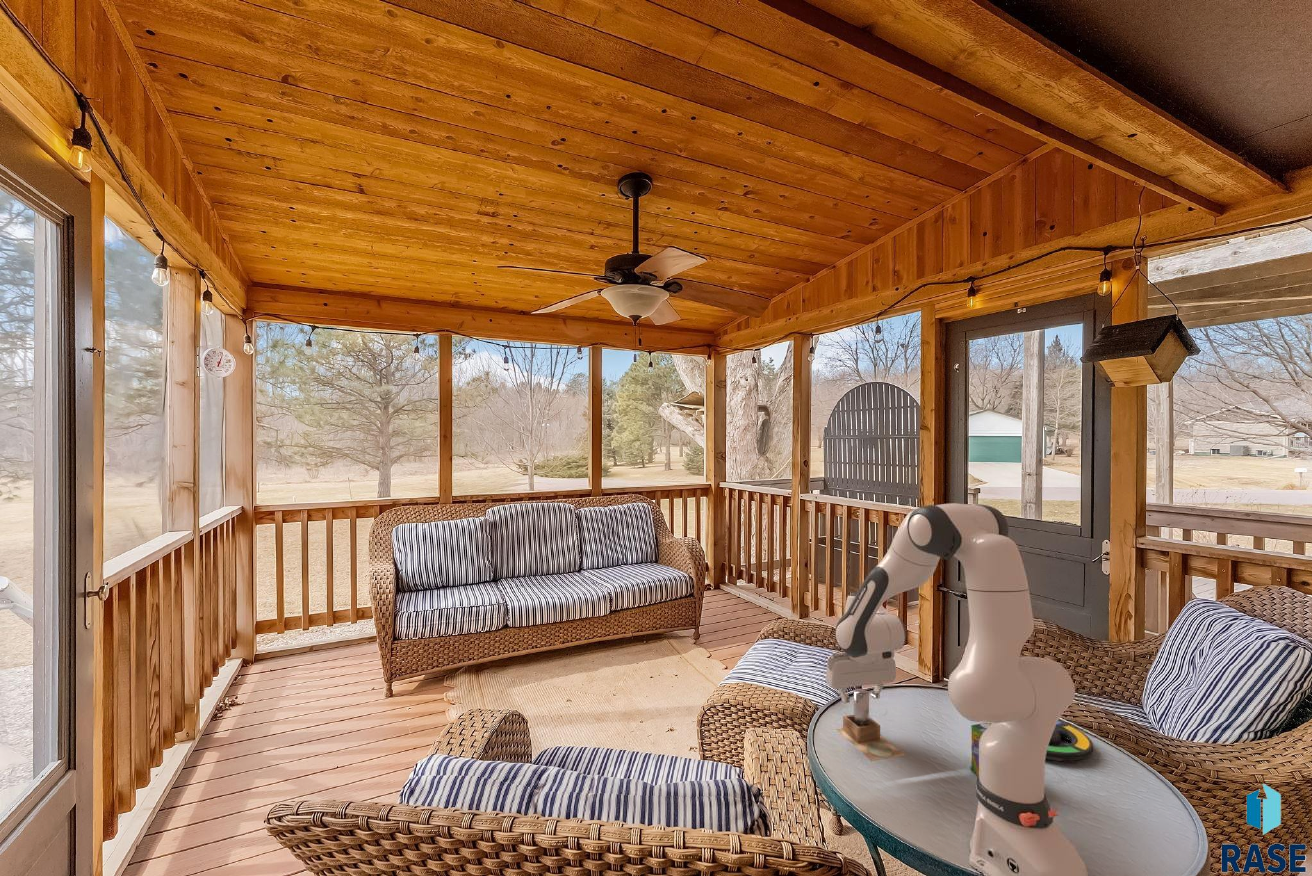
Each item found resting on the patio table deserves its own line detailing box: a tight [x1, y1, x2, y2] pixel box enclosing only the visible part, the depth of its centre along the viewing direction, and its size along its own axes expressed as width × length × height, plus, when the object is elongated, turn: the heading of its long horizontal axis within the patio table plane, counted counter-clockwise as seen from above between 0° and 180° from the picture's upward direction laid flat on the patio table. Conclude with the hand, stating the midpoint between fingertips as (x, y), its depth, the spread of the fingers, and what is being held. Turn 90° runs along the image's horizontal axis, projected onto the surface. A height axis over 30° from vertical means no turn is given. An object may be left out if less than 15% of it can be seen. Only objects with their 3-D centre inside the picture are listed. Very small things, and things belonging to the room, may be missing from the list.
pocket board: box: [836, 714, 905, 762], centre depth 153 cm, size 16×10×5 cm, turn 14°
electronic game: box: [1045, 719, 1094, 762], centre depth 155 cm, size 23×23×5 cm
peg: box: [853, 688, 870, 727], centre depth 157 cm, size 4×4×12 cm
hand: (860, 699), depth 157 cm, fingers open, 8 cm apart
